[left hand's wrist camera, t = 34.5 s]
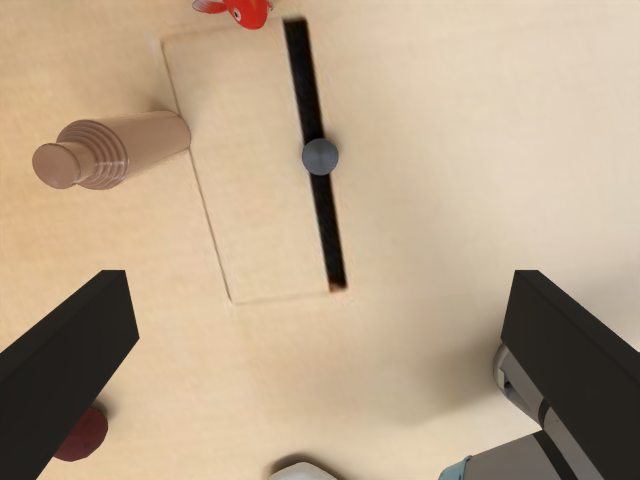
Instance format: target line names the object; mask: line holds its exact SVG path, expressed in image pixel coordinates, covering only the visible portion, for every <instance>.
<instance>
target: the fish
mask: <svg viewBox="0 0 640 480" xmlns="http://www.w3.org/2000/svg"><path fill="white" fill-rule="evenodd" d="M268 7H270V8H272V9H271V10H273V8H274V7H273V5H272V2H271V0H196V1H195V2H194V3H193V8H194V9H195V10H197V11H199V12H205V13H209V14H218V13H222V12H225V11H229V12H230V14H231V15H232V16H233V17H234V19H235V20H236V21H237V23H238V24H240V25H241V26H242V27H245V28H247V29H250V30H257V29H260V28H261V27H262V26H263V25H264V23H265V21H266V18H267V15H268V12H269V9H268Z"/></svg>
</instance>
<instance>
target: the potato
mask: <svg viewBox="0 0 640 480" xmlns="http://www.w3.org/2000/svg"><path fill="white" fill-rule="evenodd" d="M107 431H108V422H107V419H106V418H105V416H104V415H103V413H101V412H100V411H98V410H96V409H94V408H88V409H87V411H86V412H85V413H84V415H83V416H82V418H81V419H80V420H79V422H78V423H77V424H76V426H75V427H74V428H73V430H72V431H71V433H70V434H69V435H68V437H67V438H66V439H65V441H64V442H63V443H62V445H61V446H60V448H59V449H58V450H57V452H56V453H55V454H54V456H53V457H55V458H58V459H60V460H63V461H69V462H72V461H76V460H79V459H83V458H86V457H88V456H89V455H90V454H91V453H92V452H94V451H95V450H96V449H97V448H98V447H99V446H100V445H101V444H102V442H103V441H104V438H105V436H106V433H107Z"/></svg>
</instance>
